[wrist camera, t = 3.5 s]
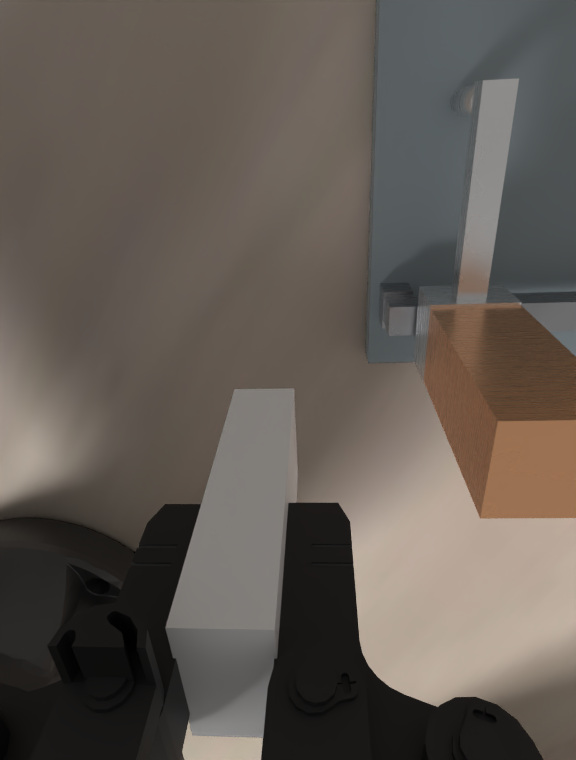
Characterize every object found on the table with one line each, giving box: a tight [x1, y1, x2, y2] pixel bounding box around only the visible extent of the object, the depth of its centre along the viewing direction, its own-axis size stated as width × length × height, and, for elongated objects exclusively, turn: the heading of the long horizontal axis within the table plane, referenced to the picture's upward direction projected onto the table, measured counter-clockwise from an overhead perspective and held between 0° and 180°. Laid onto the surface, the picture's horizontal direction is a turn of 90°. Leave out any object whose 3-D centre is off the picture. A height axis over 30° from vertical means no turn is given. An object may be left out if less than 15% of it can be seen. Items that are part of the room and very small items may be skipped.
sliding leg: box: [414, 78, 576, 518], centre depth 15 cm, size 3×10×11 cm, turn 3°
